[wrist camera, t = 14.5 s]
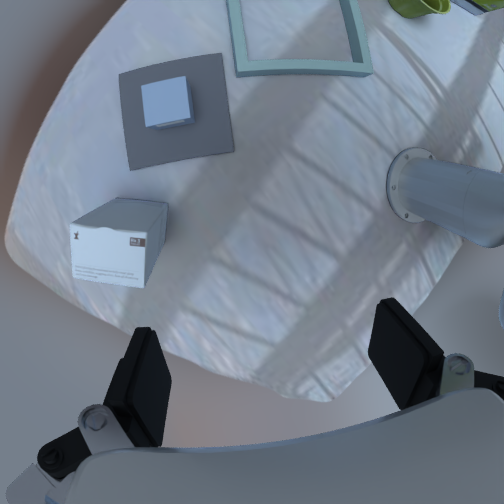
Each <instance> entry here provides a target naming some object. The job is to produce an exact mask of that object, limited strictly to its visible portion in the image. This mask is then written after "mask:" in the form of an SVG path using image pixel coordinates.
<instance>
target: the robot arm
mask: <svg viewBox="0 0 504 504" xmlns="http://www.w3.org/2000/svg"><path fill="white" fill-rule="evenodd" d="M387 194H388V199H389V202H390V205H391V207H392V209H393V210H394V212H395V213H396V214H397V215H398V216H399V217H400V218H402V219H404V220H405V221H408V222H411V223H419V222H422V221H425V220H428V221H430V222H432V223H435V224H437V225H439V226H441V227H443V228H445V229H447V230H449V231H451V232H454V233H456V234H458V235H460V236H462V237H464V238H466V239H468V240H470V241H472V242H474V243H476V244H477V245H480V246H482V247H486V248H495V247H498V246H501V245H503V244H504V174H503V173H498V172H494V171H490V170H485V169H481V168H476V167H471V166H467V165H462V164H456V163H451V162H446V161H440V160H437V159H436V157H435V156H434V155H433V154H432V153H430V152H429V151H427V150H425V149H422V148H409V149H406V150H404V151H402V152H401V153H400V154H399V155H398V156H397V157H396V158H395V160H394V161H393V163H392V165H391V167H390V170H389V173H388V178H387ZM499 320H500V324H501V326H502V328H503V329H504V290H503V294H502V297H501V301H500V306H499ZM443 354H444V351H443V350H442V349H441V348H440V347H439V346H438V345H437V343H436V342H435V341H434V340H433V339H432V338H431V337H430V336H429V334H428V333H427V332H426V331H425V330H424V329H423V328H422V327H421V326H420V325H419V323H418V322H417V321H416V320H415V319H414V318H413V317H412V316H411V315H410V314H409V313H408V312H407V311H406V310H405V308H404V307H403V306H402V305H401V304H400V303H399V302H398V301H397V300H396V299H395V298H387V299H382V300H381V301H380V303H379V304H377V307H376V313H375V318H374V324H373V329H372V334H371V339H370V344H369V348H368V355H369V358H370V360H371V361H372V363H373V365H374V366H375V368H376V370H377V371H378V373H379V375H380V376H381V378H382V380H383V381H384V383H385V385H386V387H387V388H388V390H389V392H390V393H391V395H392V397H393V399H394V400H395V402H396V404H397V405H398V407H399V409H400V410H401V411H398V412H395V413H392V414H389V415H386V416H384V417H380V418H377V419H374V420H371V421H367V422H364V423H361V424H357V425H354V426H350V427H346V428H342V429H338V430H334V431H330V432H325V433H321V434H316V435H311V436H306V437H300V438H295V439H289V440H282V441H276V442H268V443H260V444H251V445H240V446H227V447H226V446H225V447H201V448H199V447H198V448H168V447H167V448H165V447H161V445H162V441H163V433H164V427H165V420H166V414H167V407H168V401H169V395H170V389H171V382H172V380H171V375H170V372H169V370H168V367H167V364H166V361H165V358H164V355H163V352H162V349H161V346H160V343H159V340H158V337H157V334H156V332H155V330H151V328H150V327H137V328H136V329H135V331H134V334H133V336H132V338H131V341H130V343H129V346H128V348H127V351H126V353H125V356H124V358H122V359H120V361H119V363H118V366H117V368H116V370H115V373H114V375H113V378H112V381H111V383H110V386H109V388H108V391H107V394H106V397H105V399H104V402H103V405H101V404H95V405H94V404H93V405H91V406H88V407H86V408H85V409H84V410H83V411H82V412H81V413H80V415H79V417H78V425H79V427H77V428H75V429H73V430H72V431H70V432H68V433H66V434H64V435H62V436H61V437H59V438H57V439H55V440H53V441H51V442H49V443H47V444H45V445H44V446H43V447H42V448H41V449H40V450H39V453H38V456H37V461H38V463H37V464H36V465H35V464H33V463H32V464H31V465H30V466H29V467H28V468H27V469H26V470H25V471H24V472H23V473H22V474H21V475H20V476H19V477H18V478H16V479H15V480H14V481H13V482H12V483H11V484H10V485H9V486H8V488H7V490H6V498H7V501H8V503H9V504H504V377H502V376H497V375H493V374H488V373H483V372H480V371H475V370H474V365H473V362H472V361H471V360H470V359H469V358H468V357H467V356H465V355H463V354H457V353H455V354H450V355H448V356H447V357H445V356H444V355H443ZM158 446H160V447H158Z"/></svg>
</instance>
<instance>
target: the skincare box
mask: <svg viewBox="0 0 504 504" xmlns="http://www.w3.org/2000/svg"><path fill="white" fill-rule="evenodd" d="M167 213H168V203H161V202H153V201H144V200H134V199H120V198H115V199H113V200H111V201H109V202H107V203H106V204H104V205H102V206H100V207H98V208H97V209H95V210H93V211H91V212H89V213H88V214H86V215H84V216H82V217H81V218H79V219H77V220H75V221H74V222H72V223H70V246H71V259H72V274H73V278H76V279H82V280H89V281H95V282H101V283H108V284H115V285H122V286H129V287H137V288H145V285H146V283H147V281H148V279H149V276H150V274H151V272H152V270H153V267H154V265H155V262H156V260H157V258H158V256H159V254H160V251H161V249H162V247H163V245H164V243H165V234H166V223H167Z"/></svg>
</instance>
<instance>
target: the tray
mask: <svg viewBox="0 0 504 504" xmlns="http://www.w3.org/2000/svg"><path fill="white" fill-rule="evenodd" d="M339 1H340V5H341V8H342V12H343V16H344V20H345V24H346V29H347V33H348V38H349V42H350V47H351V52H352V58H353V62H344V61H331V60H309V59H278V60H255V61H248V58H247V51H246V44H245V37H244V30H243V23H242V16H241V10H240V3H239V0H226V3H227V11H228V18H229V25H230V33H231V40H232V48H233V55H234V63H235V71H236V77H247V76H260V75H281V74H323V75H343V76H356V77H366V76H368V75H371V74H373V73H374V72H373V67H372V61H371V56H370V51H369V46H368V42H367V37H366V33H365V29H364V24H363V21H362V17H361V13H360V9H359V6H358V2H357V0H339Z"/></svg>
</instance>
